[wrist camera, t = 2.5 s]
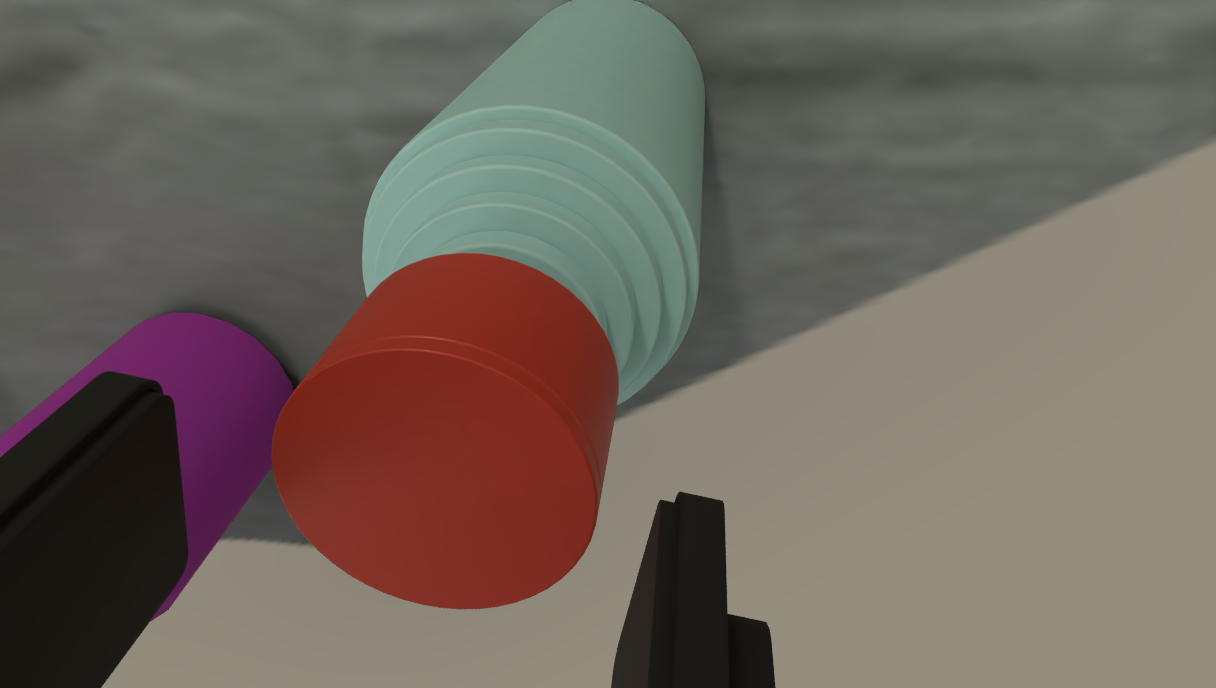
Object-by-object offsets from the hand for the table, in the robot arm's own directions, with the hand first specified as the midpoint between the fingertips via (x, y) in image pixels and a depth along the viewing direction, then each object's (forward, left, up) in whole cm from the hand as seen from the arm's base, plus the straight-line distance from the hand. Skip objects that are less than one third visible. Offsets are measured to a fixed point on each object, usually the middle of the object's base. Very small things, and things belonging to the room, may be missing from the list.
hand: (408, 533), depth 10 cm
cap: (0, 0, -3) cm, 3 cm away
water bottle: (0, 0, -20) cm, 20 cm away
